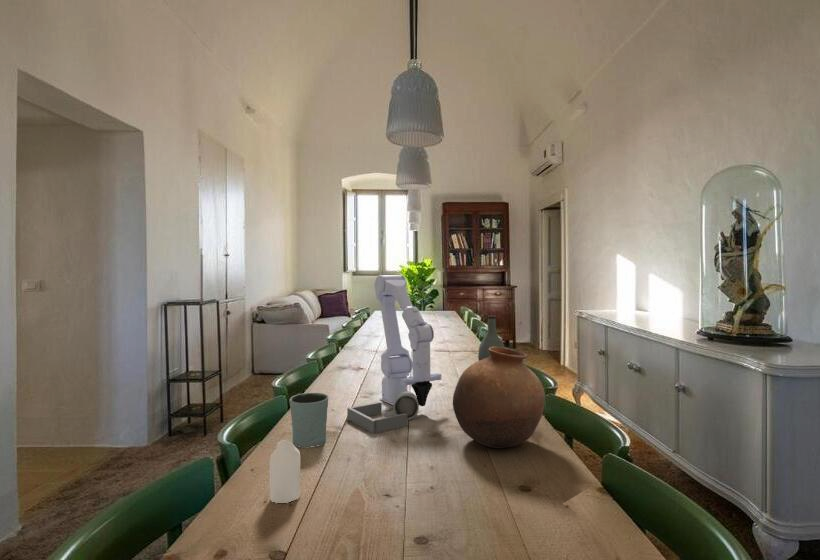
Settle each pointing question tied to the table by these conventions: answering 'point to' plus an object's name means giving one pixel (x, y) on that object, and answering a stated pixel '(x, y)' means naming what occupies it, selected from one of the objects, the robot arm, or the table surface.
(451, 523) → the table surface
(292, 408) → the green tapered cup
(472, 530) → the table surface
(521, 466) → the table surface
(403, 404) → the ceramic mug
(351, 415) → the box
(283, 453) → the white shouldered tall container
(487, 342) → the bottle
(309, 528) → the table surface
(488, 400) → the pottery
